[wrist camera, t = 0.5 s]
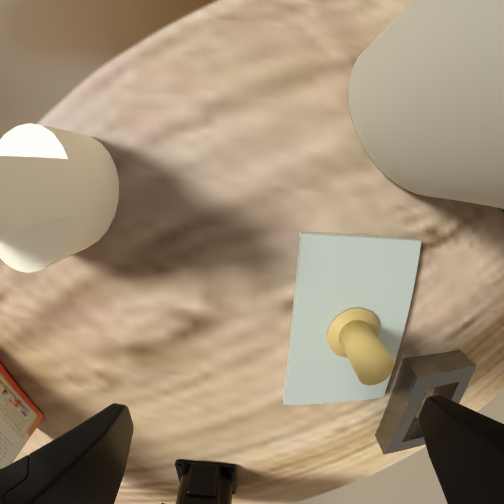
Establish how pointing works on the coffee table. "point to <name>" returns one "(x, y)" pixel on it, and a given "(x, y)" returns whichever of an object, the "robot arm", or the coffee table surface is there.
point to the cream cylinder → (53, 195)
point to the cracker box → (14, 418)
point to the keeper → (348, 315)
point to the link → (420, 396)
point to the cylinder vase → (436, 100)
